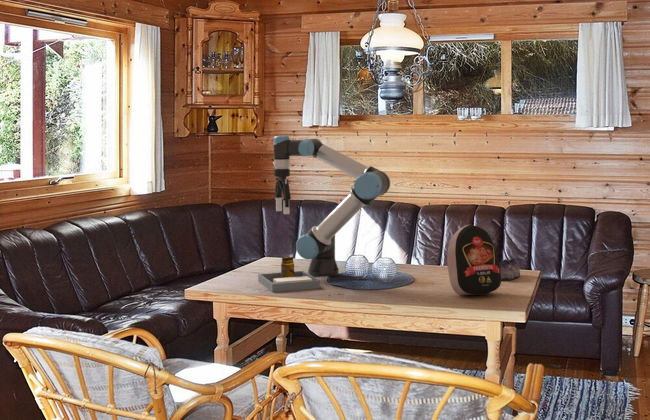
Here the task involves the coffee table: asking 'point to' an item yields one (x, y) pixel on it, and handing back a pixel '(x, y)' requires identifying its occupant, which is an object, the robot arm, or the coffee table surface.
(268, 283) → the gray tray
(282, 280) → the cream rectangular block
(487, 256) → the packaged food
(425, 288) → the coffee table surface
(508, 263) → the geode
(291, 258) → the condiment
